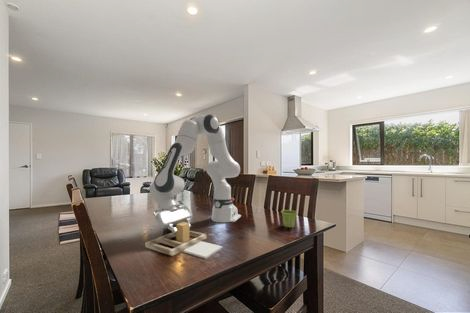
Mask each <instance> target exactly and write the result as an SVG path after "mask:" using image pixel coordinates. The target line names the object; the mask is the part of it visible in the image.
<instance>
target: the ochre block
mask: <svg viewBox="0 0 470 313" xmlns="http://www.w3.org/2000/svg"><path fill="white" fill-rule="evenodd" d="M190 225H191V222H190V223H185V221H183V222H180V223H177V224H175V228H176V229H177V232H176V236H175V241H177V242H181V243H186V242H188V241H190V236H189V230H190V228H191V227H190ZM190 231H191V230H190Z"/></svg>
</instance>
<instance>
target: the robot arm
mask: <svg viewBox="0 0 470 313" xmlns="http://www.w3.org/2000/svg"><path fill="white" fill-rule="evenodd" d="M199 135H206V137H207V143H208V148H209V151H210V155H211V156H212V157H213V158H214V159H215V160H213V161H210V162H208V163H207V164H206V167H205V171H206V173H207V175H208V176H209V177H210V178H211V181H212V184H213V191H214V192H213V193H214V194H213V195H214V198H213V206H212V212H211V215H210V218H211V221H212V222H216V223H235V222H236V221H238V219H239V220H240V218H241V217H242V215H241V214H239V213H238V207H237V206H235V205H234V204H233V202H234V201H235V198H234V197H232V187H231V185H230V184H229V183H228V182H227V180H226V179H231V178H233V179H234V178H236V177H238V176H239V175H240V173H241V166H240V164H239V162H237V161H235V159H234V158H233V157H232V156H231V154H230V152H229V149H228V147H227V143H226V138H225V133H224V131H223V129H222V126H221V124H220V120H219V119H218V117H217V116H216V115H215V114H202V115H201V114H200V115H198V116H193V117H191V118H190V119H186V120H183V122H182V123H181V125H180V128H179V130H178V132H177V136H176V139H175V141H174V143H173V144H172V145H171V146H170V147H169V150H168V152H167V154H166V156H165V158H164V162H163V163H162V165H161V168H160V170H159V171H158V173H157V174H156V175H155V178H154V180H153V182H152V183H151V184H150V185H149V189H148V190H149V194H150V196H151V198H152V199H153V201H154V202H155V203H156V205H157V208H158V210H157V209H156V210H154V212H153V216H154V218H155V221H156V224H157V225H158V227H159V229H161V230H162V229H166V228H167V229H168V230H169V231H171V233H172V232H173V234H174V233H176V232H177V229H176V227H174V225H176V224H179V223H182V222H185V223H190V228H191V227H192V225H191V222H190V219H191V218H192V217H193V213H192V211H191V210H190V208H189V206H187V205H186V203H185V201H184V200H179V199H175V198H174V197H175V196H178V195H179V194H180V193H182V192H183V191H184V190H185V187H186V182H185V180H184V178H182V177H180V176H179V175H175V174H174V172H175V170H176V166H177V165H178V162H179V159H180V158H181V157H182V156H186V155H191V153H193V152H194V150H195V148H196V145H197V143H198V142H197V141H198V138H199Z"/></svg>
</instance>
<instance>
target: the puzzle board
mask: <svg viewBox="0 0 470 313" xmlns="http://www.w3.org/2000/svg"><path fill="white" fill-rule="evenodd" d="M207 236H208V234H207V233H203V232H199V231H198V232H197V231H193V230H189V237H194V238H192V239H191V240H190V239H189V240H188V241H185V242H183V243H182V242H179V241H176V240H173V239H172V238H176V233H174V234H173V232H172V231H171V232H170V233H167V234H164V235H162V236H159V237H157V238H154V239H151V240H148V241H145V244H144V248H147V249H150V250H153V251H156V252H159V253H163V254H165V255H168V256H175V255H177V254H178V253H180V252H183V250H185V249H187V248H189V247H191V246H193V245H195V244H197V243H199V242H201V241H204V240H206V239H207ZM161 244H163V245H161ZM164 245H166V246H164ZM168 246H170V247H173V248H170V247H168Z"/></svg>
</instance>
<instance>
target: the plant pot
mask: <svg viewBox="0 0 470 313" xmlns="http://www.w3.org/2000/svg"><path fill="white" fill-rule="evenodd" d="M280 212H281V215H282V221H283V226H284V227H286V228H288V227H289V228H290V229H291V227H292V228H295V224H296V217H297V214H298V212H297V211H296V210H290V209H284V210H281V211H280Z"/></svg>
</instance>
